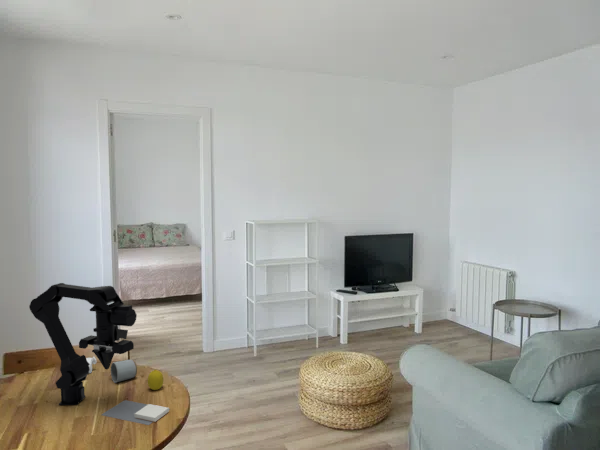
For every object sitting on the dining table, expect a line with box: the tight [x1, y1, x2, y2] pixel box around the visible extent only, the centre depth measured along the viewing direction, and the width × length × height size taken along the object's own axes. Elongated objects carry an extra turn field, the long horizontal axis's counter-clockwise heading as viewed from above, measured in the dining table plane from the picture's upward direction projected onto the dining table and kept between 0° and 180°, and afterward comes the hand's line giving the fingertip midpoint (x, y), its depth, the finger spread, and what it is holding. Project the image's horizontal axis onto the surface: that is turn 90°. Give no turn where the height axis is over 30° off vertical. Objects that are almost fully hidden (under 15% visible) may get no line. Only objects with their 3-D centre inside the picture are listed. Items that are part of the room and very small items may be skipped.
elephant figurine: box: [86, 355, 98, 374], centre depth 182 cm, size 7×8×6 cm
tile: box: [134, 403, 170, 423], centre depth 145 cm, size 2×7×8 cm
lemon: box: [147, 369, 164, 391], centre depth 164 cm, size 6×6×8 cm
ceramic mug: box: [110, 359, 138, 384], centre depth 176 cm, size 11×8×8 cm
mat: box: [100, 399, 171, 426], centre depth 147 cm, size 19×11×1 cm, turn 70°
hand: (107, 368), depth 152 cm, fingers closed
